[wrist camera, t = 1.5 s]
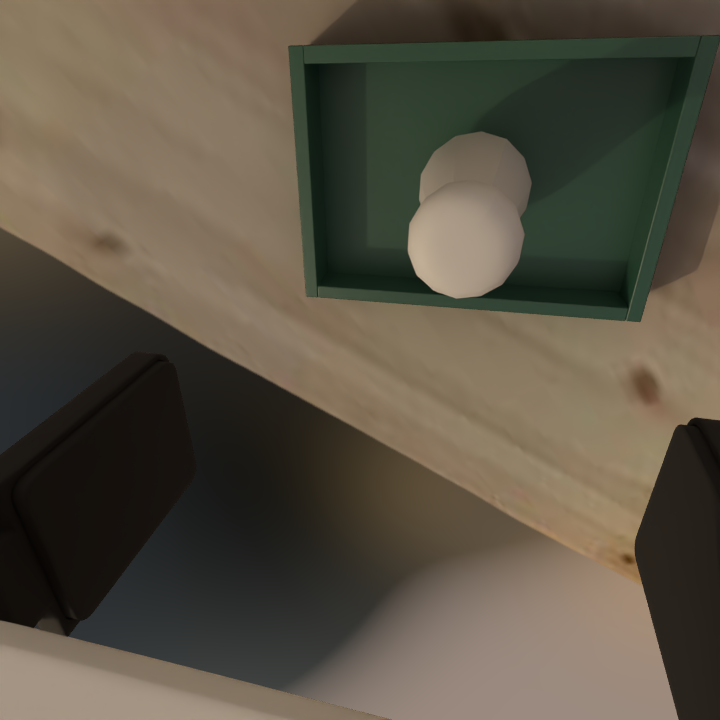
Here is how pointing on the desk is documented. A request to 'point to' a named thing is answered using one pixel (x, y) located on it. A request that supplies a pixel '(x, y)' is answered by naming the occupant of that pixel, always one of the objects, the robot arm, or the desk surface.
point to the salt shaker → (470, 215)
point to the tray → (525, 132)
